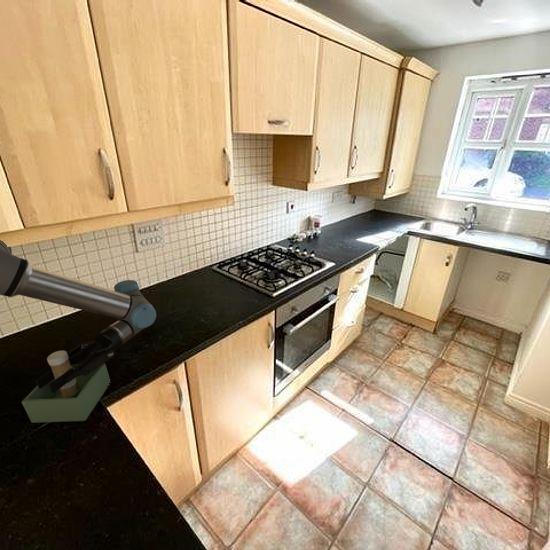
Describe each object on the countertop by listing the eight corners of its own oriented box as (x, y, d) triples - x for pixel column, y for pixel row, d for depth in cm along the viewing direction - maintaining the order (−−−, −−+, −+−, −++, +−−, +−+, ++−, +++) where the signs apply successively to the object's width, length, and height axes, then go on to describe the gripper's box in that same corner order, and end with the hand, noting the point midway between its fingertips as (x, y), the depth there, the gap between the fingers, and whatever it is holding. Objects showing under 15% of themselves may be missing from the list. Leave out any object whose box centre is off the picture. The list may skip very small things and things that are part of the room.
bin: (31, 422, 82) (21, 401, 79) (64, 383, 95) (57, 364, 92) (85, 420, 82) (77, 399, 79) (111, 382, 95) (105, 362, 92)
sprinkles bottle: (60, 392, 87) (45, 354, 82) (78, 384, 90) (64, 347, 85) (63, 401, 84) (48, 362, 79) (81, 392, 87) (68, 354, 82)
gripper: (137, 351, 99) (73, 404, 79) (96, 342, 104) (26, 390, 84) (132, 331, 96) (64, 382, 76) (90, 323, 101) (17, 368, 81)
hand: (44, 386), depth 80 cm, fingers closed on sprinkles bottle, 4 cm apart
